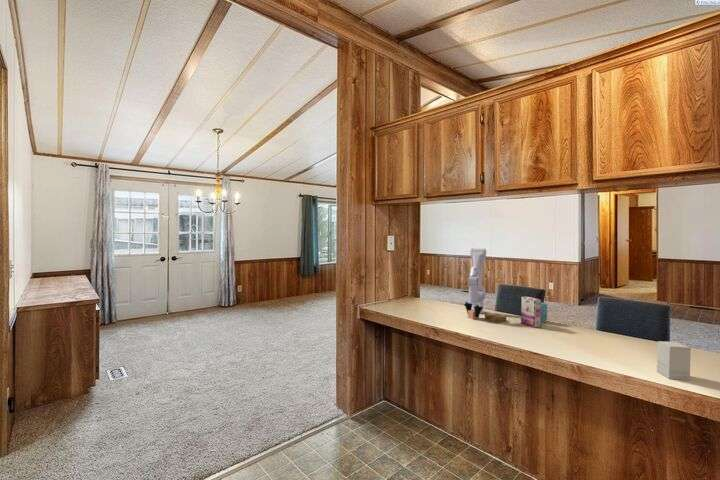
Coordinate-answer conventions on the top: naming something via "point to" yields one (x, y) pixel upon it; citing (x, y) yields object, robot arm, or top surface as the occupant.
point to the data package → (543, 312)
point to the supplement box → (673, 360)
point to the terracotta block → (472, 314)
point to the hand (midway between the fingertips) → (473, 315)
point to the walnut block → (495, 317)
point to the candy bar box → (531, 311)
